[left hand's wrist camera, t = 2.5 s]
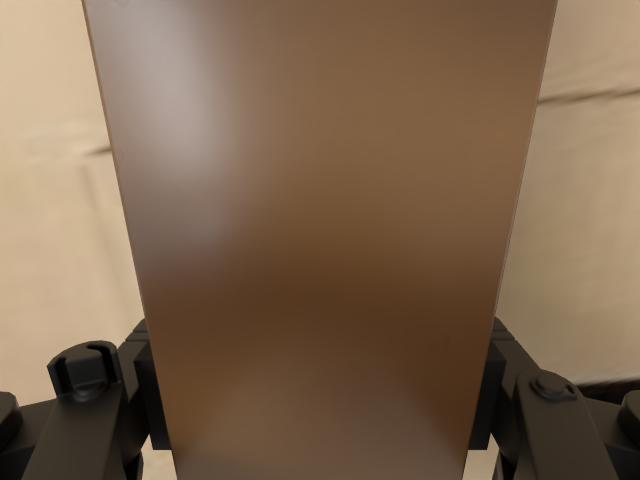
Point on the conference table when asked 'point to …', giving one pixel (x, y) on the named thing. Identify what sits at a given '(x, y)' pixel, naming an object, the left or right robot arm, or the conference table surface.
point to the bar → (319, 219)
